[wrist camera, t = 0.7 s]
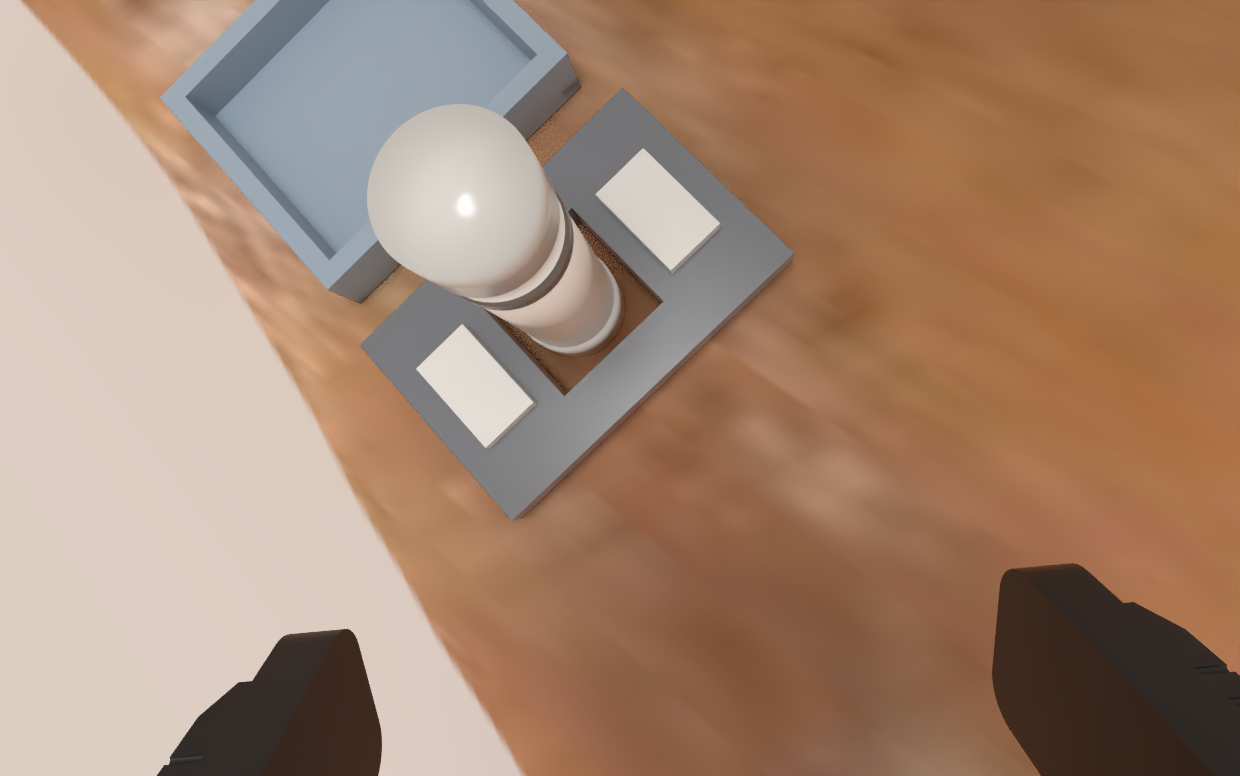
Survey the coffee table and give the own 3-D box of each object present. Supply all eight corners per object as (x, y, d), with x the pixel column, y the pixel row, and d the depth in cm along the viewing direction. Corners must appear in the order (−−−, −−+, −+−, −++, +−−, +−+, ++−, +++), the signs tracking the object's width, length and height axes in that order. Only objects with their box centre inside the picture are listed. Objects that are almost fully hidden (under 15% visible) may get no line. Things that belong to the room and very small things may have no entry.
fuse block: (628, 106, 28) (620, 79, 26) (790, 263, 27) (795, 248, 25) (378, 350, 29) (351, 343, 27) (523, 517, 28) (506, 522, 26)
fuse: (579, 241, 28) (457, 68, 15) (644, 309, 28) (574, 188, 15) (510, 308, 28) (333, 192, 16) (573, 377, 28) (443, 315, 15)
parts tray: (408, -82, 31) (380, -129, 28) (581, 87, 29) (567, 53, 26) (204, 125, 31) (159, 97, 29) (360, 303, 29) (327, 289, 27)
